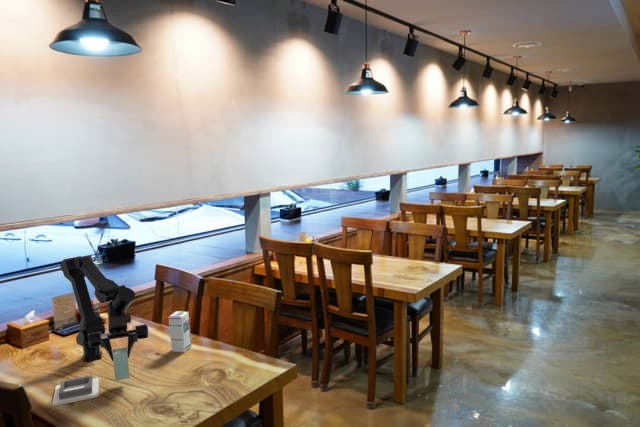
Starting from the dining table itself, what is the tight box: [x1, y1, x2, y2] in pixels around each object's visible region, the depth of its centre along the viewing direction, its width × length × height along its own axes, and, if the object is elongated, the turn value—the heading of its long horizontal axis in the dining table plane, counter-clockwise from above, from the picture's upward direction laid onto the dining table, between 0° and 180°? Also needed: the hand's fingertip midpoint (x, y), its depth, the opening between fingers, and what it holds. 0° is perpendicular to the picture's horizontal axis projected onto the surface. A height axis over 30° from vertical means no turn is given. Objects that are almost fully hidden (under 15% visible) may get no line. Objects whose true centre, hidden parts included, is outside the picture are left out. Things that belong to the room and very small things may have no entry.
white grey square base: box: [52, 374, 100, 407], centre depth 162 cm, size 13×13×3 cm
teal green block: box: [112, 346, 131, 381], centre depth 165 cm, size 4×4×9 cm
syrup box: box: [168, 310, 192, 353], centre depth 193 cm, size 6×6×14 cm
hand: (120, 359), depth 163 cm, fingers closed on teal green block, 4 cm apart
